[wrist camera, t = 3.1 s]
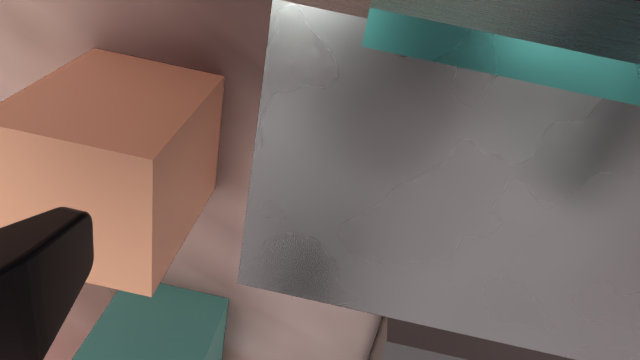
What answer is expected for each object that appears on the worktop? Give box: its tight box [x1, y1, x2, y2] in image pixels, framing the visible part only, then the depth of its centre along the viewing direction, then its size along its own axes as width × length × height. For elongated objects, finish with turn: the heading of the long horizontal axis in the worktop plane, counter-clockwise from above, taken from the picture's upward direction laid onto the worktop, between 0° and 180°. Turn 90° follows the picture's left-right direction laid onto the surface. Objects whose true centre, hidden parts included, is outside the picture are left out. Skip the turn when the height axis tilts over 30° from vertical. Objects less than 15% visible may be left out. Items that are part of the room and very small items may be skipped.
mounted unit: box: [238, 0, 640, 360], centre depth 12 cm, size 6×10×10 cm, turn 80°
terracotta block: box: [0, 48, 224, 297], centre depth 16 cm, size 4×4×6 cm
